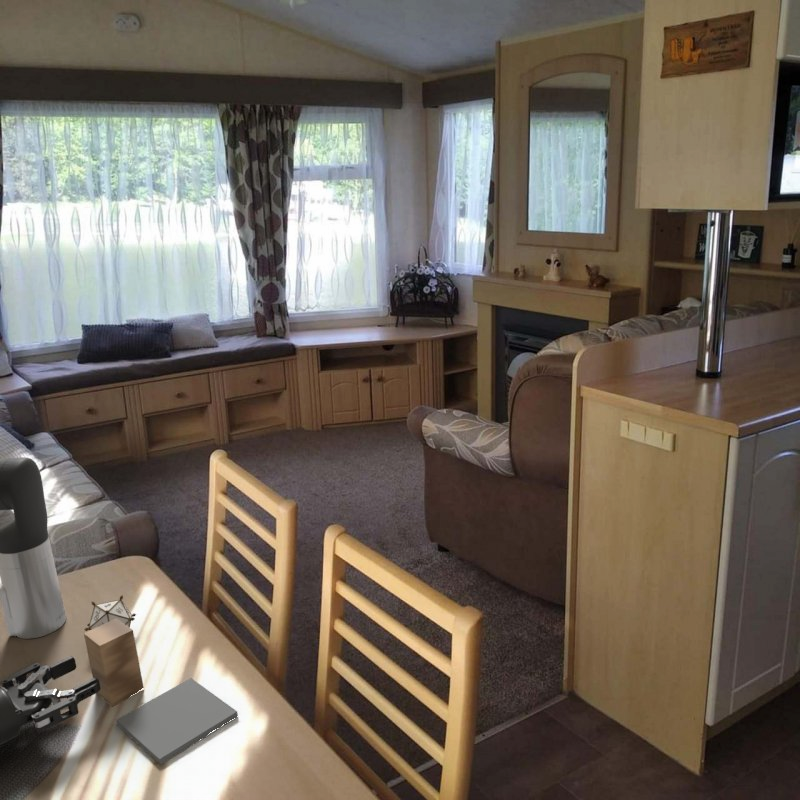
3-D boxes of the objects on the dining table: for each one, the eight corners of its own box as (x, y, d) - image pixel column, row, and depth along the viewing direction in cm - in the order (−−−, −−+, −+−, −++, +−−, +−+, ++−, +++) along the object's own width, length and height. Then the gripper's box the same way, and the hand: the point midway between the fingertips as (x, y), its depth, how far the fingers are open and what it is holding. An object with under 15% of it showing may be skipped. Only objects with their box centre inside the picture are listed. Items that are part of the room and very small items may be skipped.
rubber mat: (160, 765, 112) (159, 759, 112) (116, 725, 121) (115, 719, 120) (238, 717, 121) (237, 711, 120) (191, 683, 130) (191, 677, 129)
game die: (122, 664, 143) (114, 643, 135) (79, 646, 143) (69, 624, 136) (148, 619, 148) (142, 596, 140) (107, 602, 149) (98, 579, 141)
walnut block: (112, 707, 125) (99, 645, 122) (96, 693, 129) (83, 633, 126) (144, 689, 129) (132, 629, 126) (127, 676, 133) (116, 618, 129)
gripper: (-12, 726, 107) (103, 669, 118) (-47, 684, 117) (62, 635, 128) (0, 772, 110) (112, 711, 120) (-35, 727, 119) (71, 675, 130)
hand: (86, 672), depth 124 cm, fingers open, 8 cm apart
